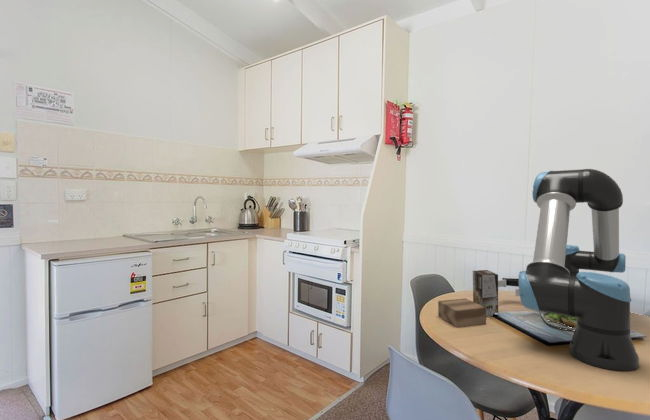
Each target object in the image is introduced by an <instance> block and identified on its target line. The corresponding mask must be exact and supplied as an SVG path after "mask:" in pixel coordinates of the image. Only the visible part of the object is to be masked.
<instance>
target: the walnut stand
mask: <svg viewBox="0 0 650 420" xmlns="http://www.w3.org/2000/svg"><path fill="white" fill-rule="evenodd" d="M437 305H438V307H437V310H438V317H439V318H440V319H442V320H444V321H445V322H447V323H449V324H450V325H452V326H453V327H455V328H462V327H472V326H479V325H480V326H482V325H486V324H487V316H486V307H483V306H481V305H479V304H477V303H475V302H473V300H470V299H468V298H457V299H446V300H438V301H437Z"/></svg>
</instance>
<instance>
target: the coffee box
mask: <svg viewBox="0 0 650 420" xmlns="http://www.w3.org/2000/svg"><path fill="white" fill-rule="evenodd" d="M498 280H499V274H498V273H495V272H493V271H490V270H488V269H483V270H482V269H480V270H472V297H473V300H472V301H473V302H475V303H477V304H479V305H481V306H483V307H486V317H494V316H493V314H495V313H498V314H499V287H498Z"/></svg>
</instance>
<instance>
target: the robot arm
mask: <svg viewBox="0 0 650 420" xmlns="http://www.w3.org/2000/svg"><path fill="white" fill-rule="evenodd" d="M532 187H533V188H532V200H533V202H534V203H536V205H537V207H538V208H539V209H540V211H539V217H538V224H537V231H536V240H535V245H534V251H533V259H532V261H531V262H530V263H528V264H527V265H526V268H525V270H520V271H519V273H518V278H514V277H513V278H509V277H508V278H507V277H502V279H498V288H501V287H502V288H506V287H507V286H509V287H510V286H511V287H518V288H515V297H519V299H520V303H521V305H522V306H523V307H524V308H525V309H528V310H531V311H537V312H538V313H540V312H541V313H542V312H548V313H554V314H560V315H566V316H572V317H577V328H576V330H575V331H574V332H573V336H572V338H571V341H570V343H569V352H570V354H571V356H573V357H574V358H575V359H577V360H579V361H581V362H583V363H586V364H588V365H591V366H594V367H596V368H597V367H598V368H600V369H601V368H602V369H607V370H612V371H634V370H636V369H638V368H639V366H640V357H639V355H638V352H637V350H636V348H635V345H634V342H633V339H632V336H631V302H632V298H631V288H630V285H629V284H628V283H627V282H626V281H624V280H622V279H621V278H617V277H615V276H612V275H608V274H604V273H598V272H606V273H622V274H623V273H624V272H625V271H626V263H627V262H626V258H627V257H626V255H625V254H624V253H620V208H621V207H622V206H623V202H624V199H623V198H624V197H623V192H622V190H621V188H620V186H619V184H618V183H617V182H616V181H615V179H613V178H612V177H611V176H610V175H609V174H607V173H605V172H603V171H600V170H598V169H593V168H584V169H568V170H565V169H564V170H548V171H542V172H539V173H538V174H537V175H536V176H535V178H534V181H533V185H532ZM577 203H583V204H584V203H586V204H587V206H588V208H589V209H591V223H592V225H591V226H592V238H593V239H592V240H593V251H589V250H588V251H587V250H586V251H585V250H580V247H579V246H578V245H572V244H568V236H569V235H568V234H569V225H570V215H571V214H570V213H571V211H573V210H574V209H575V207H576V206H577ZM580 270H586V271H580ZM590 271H593V272H590ZM594 271H595V272H594ZM596 271H597V272H596Z"/></svg>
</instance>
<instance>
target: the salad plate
mask: <svg viewBox="0 0 650 420" xmlns="http://www.w3.org/2000/svg"><path fill="white" fill-rule="evenodd" d="M540 318H541V319H542V320H543V322H544V323H546V324H548V325H549V326H550V325H551V327H552V326H554V327H553V328H555V327H557V328H556V329H558V328H561V329H567V330H576V328H577V317H572V316H566V315H560V314H554V313H548V312H541V313H540ZM547 320H550V321H549V322H548V321H547ZM551 321H554V322H551ZM555 322H559V323H558V324H560V323H563V324H565V325H566V326H569V327H572V328H569V327H566V326H565V325H563V324H562V325H563V326H561V325H558V324H556V323H555ZM561 329H560V330H561ZM567 330H566V331H567Z"/></svg>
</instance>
